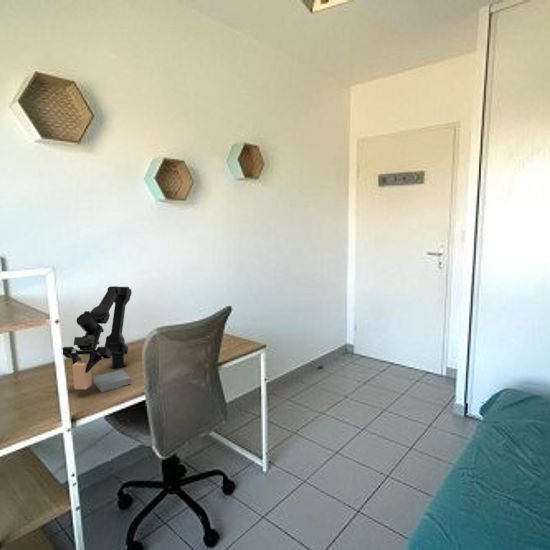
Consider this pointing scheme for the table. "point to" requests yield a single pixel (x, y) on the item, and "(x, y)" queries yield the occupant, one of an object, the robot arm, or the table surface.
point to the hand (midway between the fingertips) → (80, 372)
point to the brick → (81, 375)
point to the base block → (111, 380)
